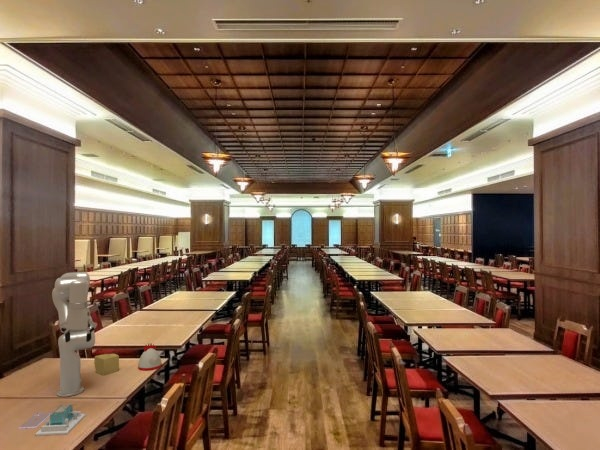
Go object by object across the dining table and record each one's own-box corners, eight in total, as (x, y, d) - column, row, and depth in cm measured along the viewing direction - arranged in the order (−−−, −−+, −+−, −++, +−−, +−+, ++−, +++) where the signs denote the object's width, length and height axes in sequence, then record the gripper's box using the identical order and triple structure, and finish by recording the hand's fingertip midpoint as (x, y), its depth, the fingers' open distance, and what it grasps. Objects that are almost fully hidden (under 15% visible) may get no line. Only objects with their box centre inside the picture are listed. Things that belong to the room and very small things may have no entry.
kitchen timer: (134, 367, 260) (134, 343, 261) (155, 362, 270) (155, 339, 270) (143, 372, 250) (143, 347, 250) (165, 367, 260) (165, 343, 260)
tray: (56, 416, 190) (56, 407, 190) (85, 415, 191) (85, 406, 191) (34, 435, 172) (34, 425, 172) (67, 434, 173) (67, 424, 173)
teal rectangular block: (61, 418, 187) (61, 404, 187) (72, 417, 187) (72, 404, 187) (50, 428, 177) (50, 414, 177) (62, 428, 177) (62, 413, 177)
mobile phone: (17, 427, 179) (35, 412, 194) (17, 429, 179) (35, 414, 194) (35, 426, 179) (52, 411, 194) (35, 428, 179) (52, 413, 194)
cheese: (110, 367, 259) (110, 352, 260) (119, 371, 253) (119, 354, 253) (94, 372, 251) (94, 356, 251) (103, 376, 245) (103, 359, 245)
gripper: (99, 304, 203) (99, 338, 203) (63, 304, 202) (63, 339, 202) (93, 307, 196) (93, 343, 196) (55, 307, 195) (55, 343, 195)
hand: (78, 341), depth 199 cm, fingers open, 9 cm apart
